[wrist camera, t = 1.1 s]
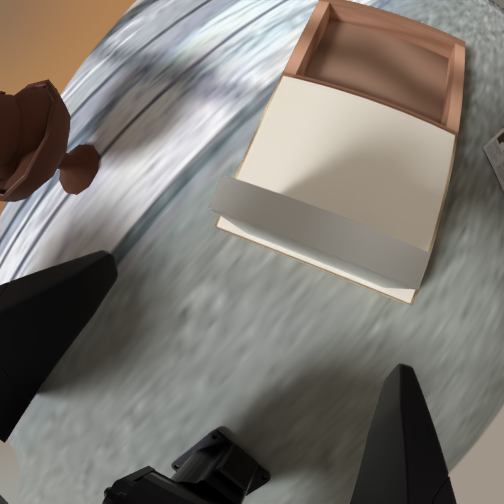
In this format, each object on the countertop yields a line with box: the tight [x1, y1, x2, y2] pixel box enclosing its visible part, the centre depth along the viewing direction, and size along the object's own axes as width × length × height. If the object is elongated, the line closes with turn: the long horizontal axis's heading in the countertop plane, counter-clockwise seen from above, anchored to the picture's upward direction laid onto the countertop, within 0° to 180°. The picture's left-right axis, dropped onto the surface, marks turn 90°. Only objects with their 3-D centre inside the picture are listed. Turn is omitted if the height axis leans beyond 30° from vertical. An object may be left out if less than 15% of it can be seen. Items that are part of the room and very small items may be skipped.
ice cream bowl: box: [0, 80, 99, 202], centre depth 21 cm, size 11×11×15 cm
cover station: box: [215, 0, 465, 305], centre depth 21 cm, size 24×14×3 cm, turn 158°
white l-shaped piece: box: [208, 76, 455, 303], centre depth 16 cm, size 12×13×8 cm
